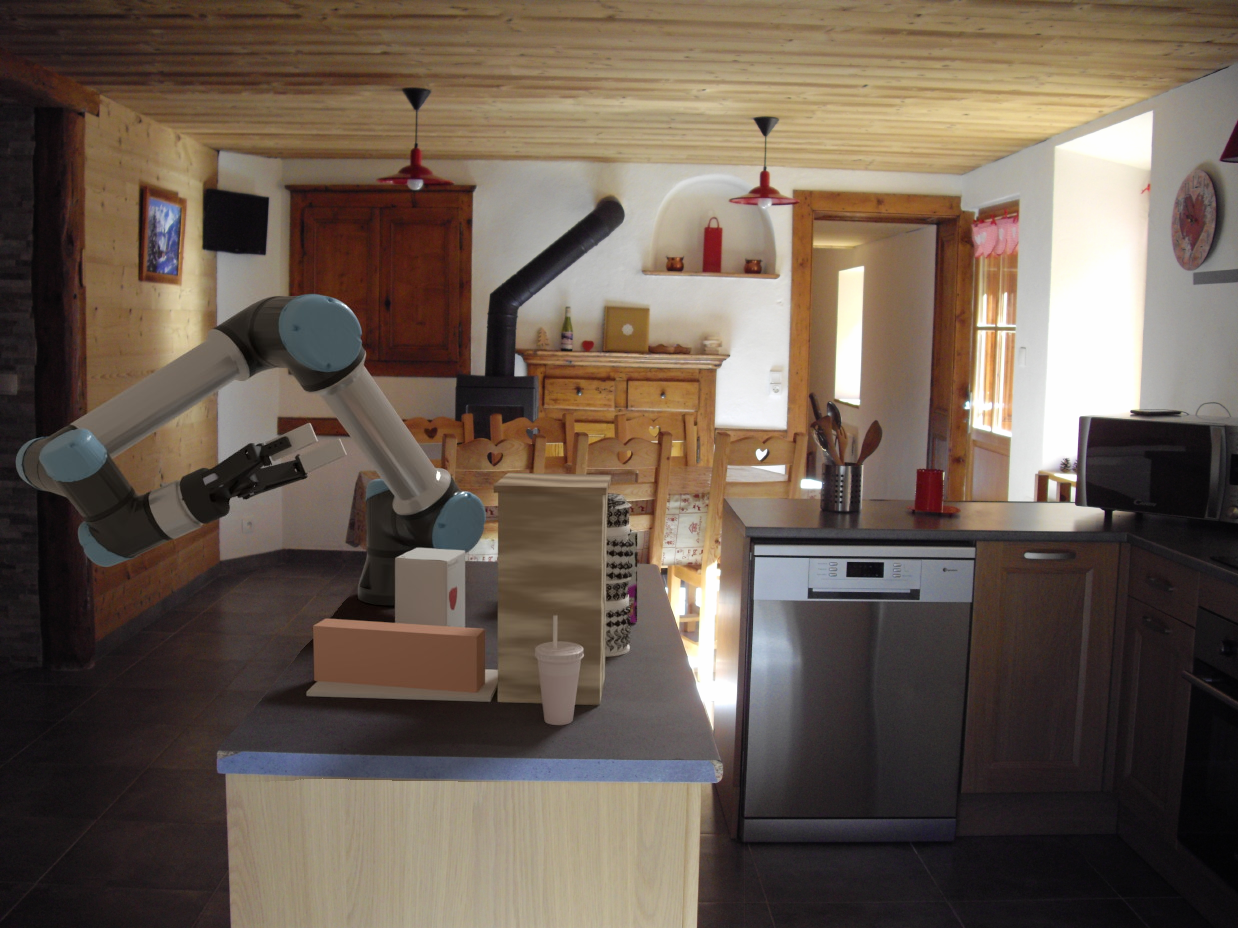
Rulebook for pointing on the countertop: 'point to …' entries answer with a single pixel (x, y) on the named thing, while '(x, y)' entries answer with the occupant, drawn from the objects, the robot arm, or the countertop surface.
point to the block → (399, 655)
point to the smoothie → (558, 677)
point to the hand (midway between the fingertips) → (329, 439)
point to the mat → (404, 691)
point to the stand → (551, 578)
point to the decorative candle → (617, 576)
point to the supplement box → (430, 587)
